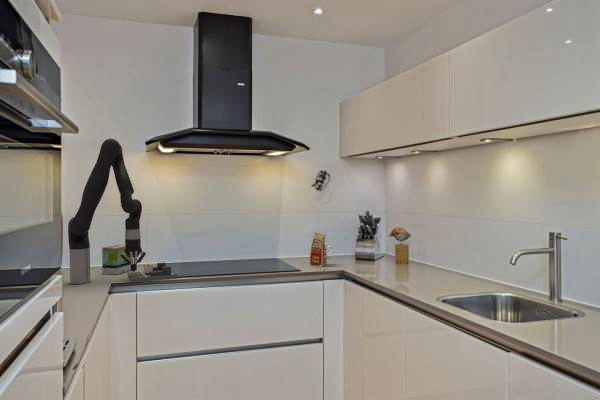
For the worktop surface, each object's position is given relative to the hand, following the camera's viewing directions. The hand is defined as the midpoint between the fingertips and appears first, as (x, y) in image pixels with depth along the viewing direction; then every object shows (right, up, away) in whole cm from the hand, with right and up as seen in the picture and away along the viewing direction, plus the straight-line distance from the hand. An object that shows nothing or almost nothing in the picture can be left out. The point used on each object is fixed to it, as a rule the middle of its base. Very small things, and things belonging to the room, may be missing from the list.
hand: (133, 271), depth 234 cm
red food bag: (+97, -2, +35) cm, 104 cm away
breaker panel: (+8, -4, +4) cm, 10 cm away
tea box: (-16, -4, +20) cm, 26 cm away
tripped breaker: (+6, -2, +3) cm, 8 cm away
